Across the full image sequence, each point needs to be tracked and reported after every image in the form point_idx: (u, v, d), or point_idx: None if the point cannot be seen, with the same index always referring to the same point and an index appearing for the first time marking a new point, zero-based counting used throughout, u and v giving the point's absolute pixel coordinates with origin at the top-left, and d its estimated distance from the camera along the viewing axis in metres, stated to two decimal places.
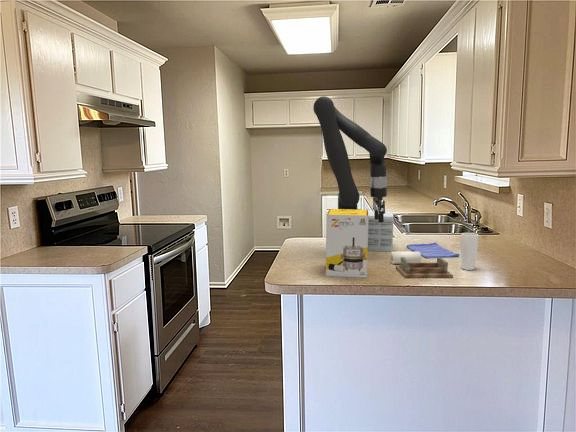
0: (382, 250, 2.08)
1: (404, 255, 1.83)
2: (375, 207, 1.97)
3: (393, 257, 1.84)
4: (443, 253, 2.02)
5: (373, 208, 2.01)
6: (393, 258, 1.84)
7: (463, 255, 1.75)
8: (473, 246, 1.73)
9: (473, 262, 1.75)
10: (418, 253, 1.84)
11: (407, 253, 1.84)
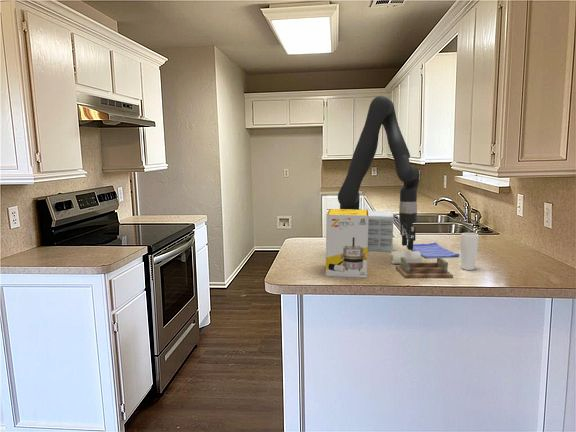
0: (382, 250, 2.08)
1: (404, 254, 1.84)
2: (403, 233, 1.87)
3: (393, 257, 1.84)
4: (443, 253, 2.02)
5: (400, 233, 1.90)
6: (393, 258, 1.84)
7: (463, 255, 1.75)
8: (473, 246, 1.73)
9: (473, 262, 1.75)
10: (418, 253, 1.84)
11: (407, 253, 1.84)
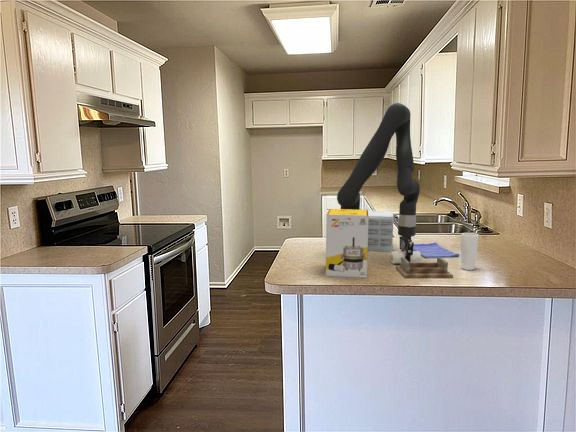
0: (382, 250, 2.08)
1: (404, 254, 1.83)
2: (402, 246, 1.87)
3: (393, 257, 1.84)
4: (443, 253, 2.02)
5: (400, 247, 1.90)
6: (393, 258, 1.84)
7: (463, 255, 1.75)
8: (473, 246, 1.73)
9: (473, 262, 1.75)
10: (418, 253, 1.84)
11: None
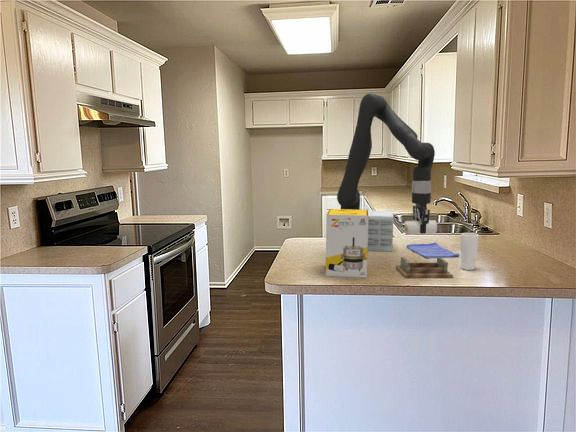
0: (382, 250, 2.08)
1: (419, 224, 1.72)
2: (416, 216, 1.75)
3: (407, 226, 1.72)
4: (443, 253, 2.02)
5: (414, 218, 1.78)
6: (407, 227, 1.72)
7: (463, 255, 1.75)
8: (473, 246, 1.73)
9: (473, 262, 1.75)
10: (434, 221, 1.73)
11: None
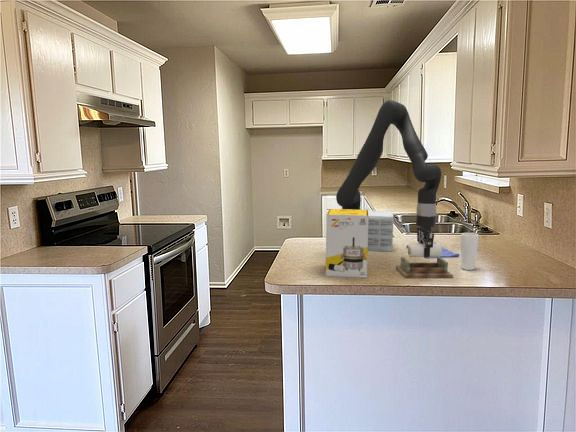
0: (382, 250, 2.08)
1: (423, 247, 1.68)
2: (421, 238, 1.71)
3: (411, 249, 1.68)
4: (443, 253, 2.02)
5: (418, 240, 1.74)
6: (411, 250, 1.68)
7: (463, 255, 1.75)
8: (473, 246, 1.73)
9: (473, 262, 1.75)
10: (438, 245, 1.68)
11: None
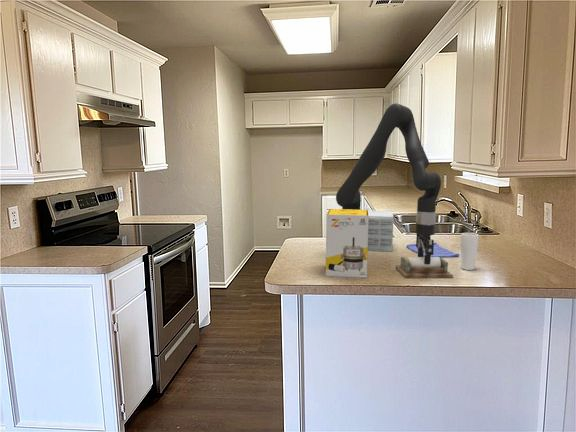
0: (382, 250, 2.08)
1: (422, 261, 1.68)
2: (419, 245, 1.73)
3: (410, 263, 1.69)
4: (443, 253, 2.02)
5: (416, 245, 1.76)
6: (410, 264, 1.69)
7: (463, 255, 1.75)
8: (473, 246, 1.73)
9: (473, 262, 1.75)
10: (437, 259, 1.69)
11: None
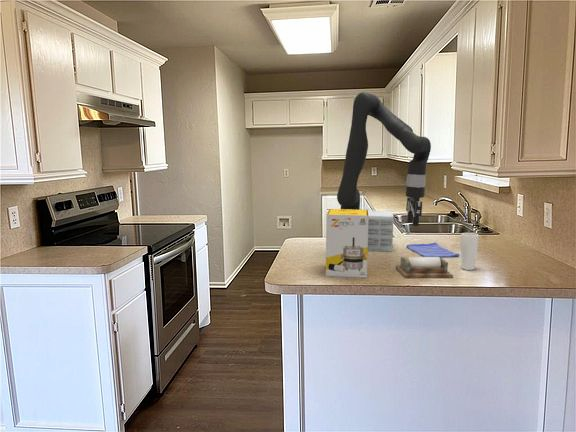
0: (382, 250, 2.08)
1: (422, 261, 1.68)
2: (409, 208, 1.77)
3: (410, 263, 1.69)
4: (443, 253, 2.02)
5: (406, 209, 1.80)
6: (410, 264, 1.69)
7: (463, 255, 1.75)
8: (473, 246, 1.73)
9: (473, 262, 1.75)
10: (437, 259, 1.69)
11: (425, 259, 1.69)
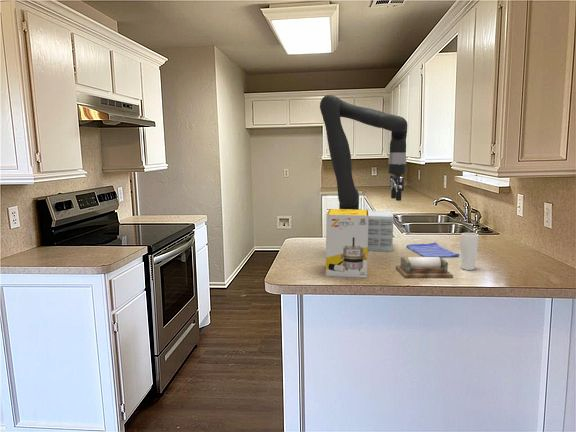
0: (382, 250, 2.08)
1: (422, 261, 1.68)
2: (392, 185, 1.89)
3: (410, 263, 1.69)
4: (443, 253, 2.02)
5: (390, 186, 1.92)
6: (410, 264, 1.69)
7: (463, 255, 1.75)
8: (473, 246, 1.73)
9: (473, 262, 1.75)
10: (437, 259, 1.69)
11: (425, 259, 1.69)
